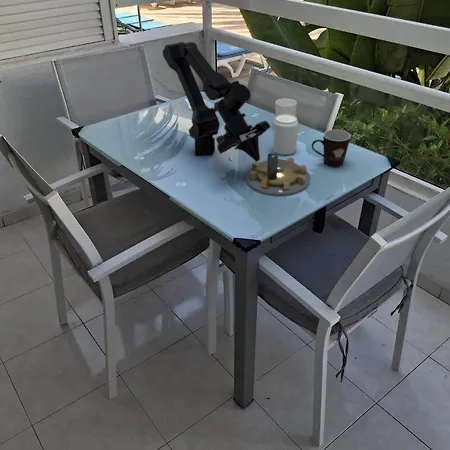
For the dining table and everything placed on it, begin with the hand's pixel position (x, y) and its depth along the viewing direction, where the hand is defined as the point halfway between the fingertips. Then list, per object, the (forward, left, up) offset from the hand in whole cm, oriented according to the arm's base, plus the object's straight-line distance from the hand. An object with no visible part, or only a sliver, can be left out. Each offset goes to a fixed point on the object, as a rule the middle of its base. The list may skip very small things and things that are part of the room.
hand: (258, 160), depth 146 cm
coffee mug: (+24, +12, -7) cm, 28 cm away
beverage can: (+10, +21, -7) cm, 25 cm away
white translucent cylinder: (+12, +41, -7) cm, 43 cm away
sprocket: (+6, +1, -6) cm, 9 cm away
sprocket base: (+6, +1, -7) cm, 10 cm away
